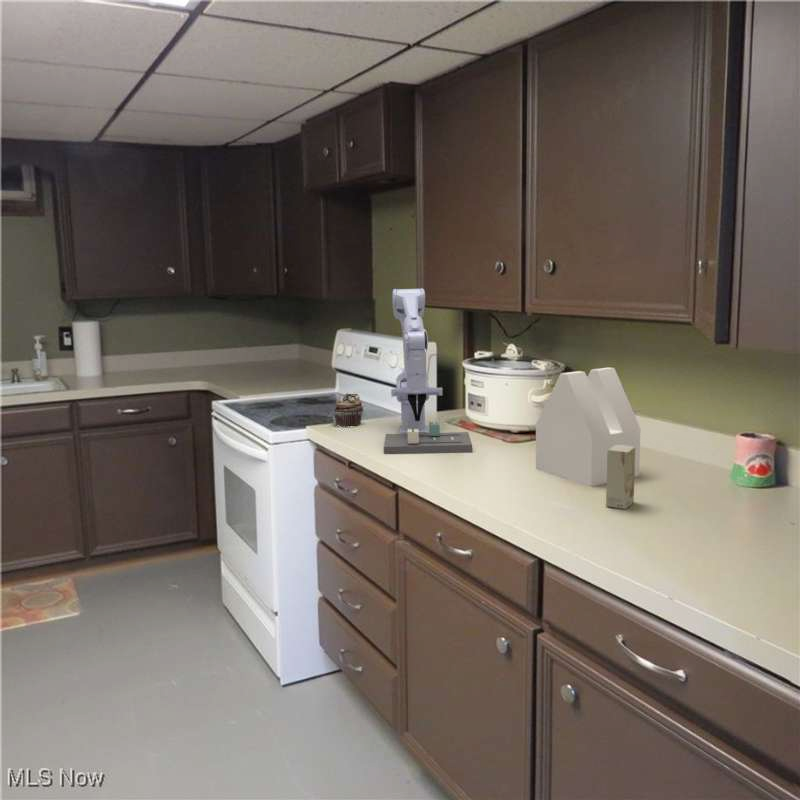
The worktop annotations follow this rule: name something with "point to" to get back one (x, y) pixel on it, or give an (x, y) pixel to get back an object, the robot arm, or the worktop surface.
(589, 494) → the worktop surface
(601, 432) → the grey house shaped holder
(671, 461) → the worktop surface
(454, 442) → the console
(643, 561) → the worktop surface
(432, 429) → the teal fader
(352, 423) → the cupcake
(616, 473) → the skincare box
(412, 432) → the ivory fader
